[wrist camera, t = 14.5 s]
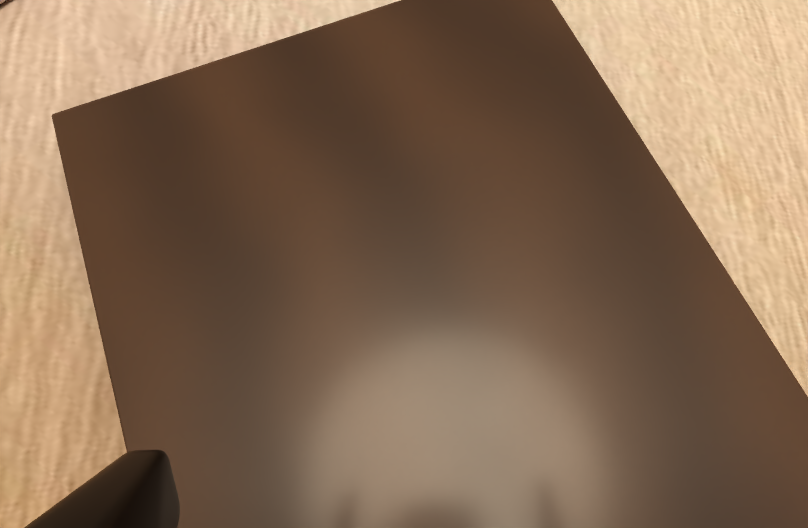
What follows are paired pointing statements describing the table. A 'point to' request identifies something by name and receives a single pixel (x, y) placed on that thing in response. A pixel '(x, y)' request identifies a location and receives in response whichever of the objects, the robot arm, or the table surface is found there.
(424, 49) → the desk board
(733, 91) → the table surface
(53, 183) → the table surface
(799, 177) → the table surface
